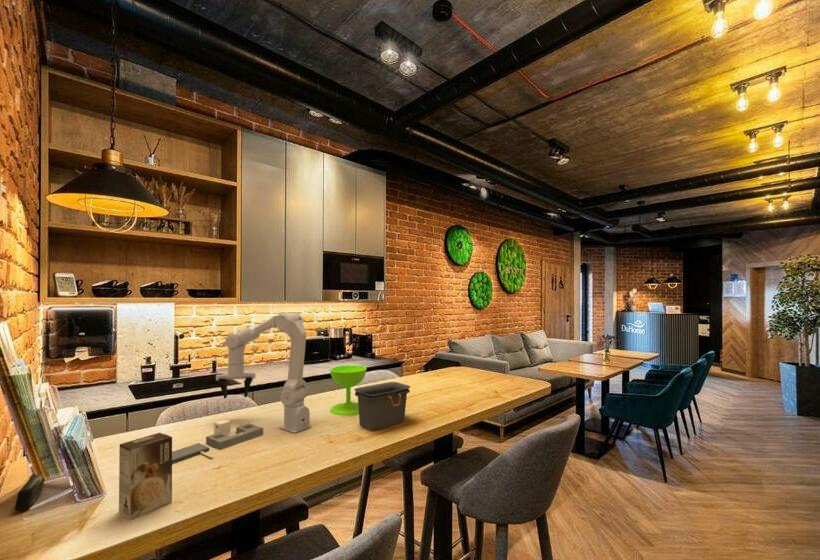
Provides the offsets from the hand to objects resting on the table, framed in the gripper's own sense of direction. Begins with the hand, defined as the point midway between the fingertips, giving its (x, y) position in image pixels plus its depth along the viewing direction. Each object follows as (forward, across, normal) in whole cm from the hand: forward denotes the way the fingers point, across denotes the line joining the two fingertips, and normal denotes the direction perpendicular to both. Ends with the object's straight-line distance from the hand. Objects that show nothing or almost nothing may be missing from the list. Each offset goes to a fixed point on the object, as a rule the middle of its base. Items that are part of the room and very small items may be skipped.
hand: (235, 397), depth 151 cm
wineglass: (+10, -45, -7) cm, 47 cm away
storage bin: (+10, -58, +15) cm, 61 cm away
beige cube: (+10, +1, +13) cm, 16 cm away
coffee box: (+10, +6, +60) cm, 61 cm away
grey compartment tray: (+10, -5, +19) cm, 22 cm away
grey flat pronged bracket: (+10, +6, +33) cm, 35 cm away
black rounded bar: (+4, +35, +50) cm, 61 cm away
